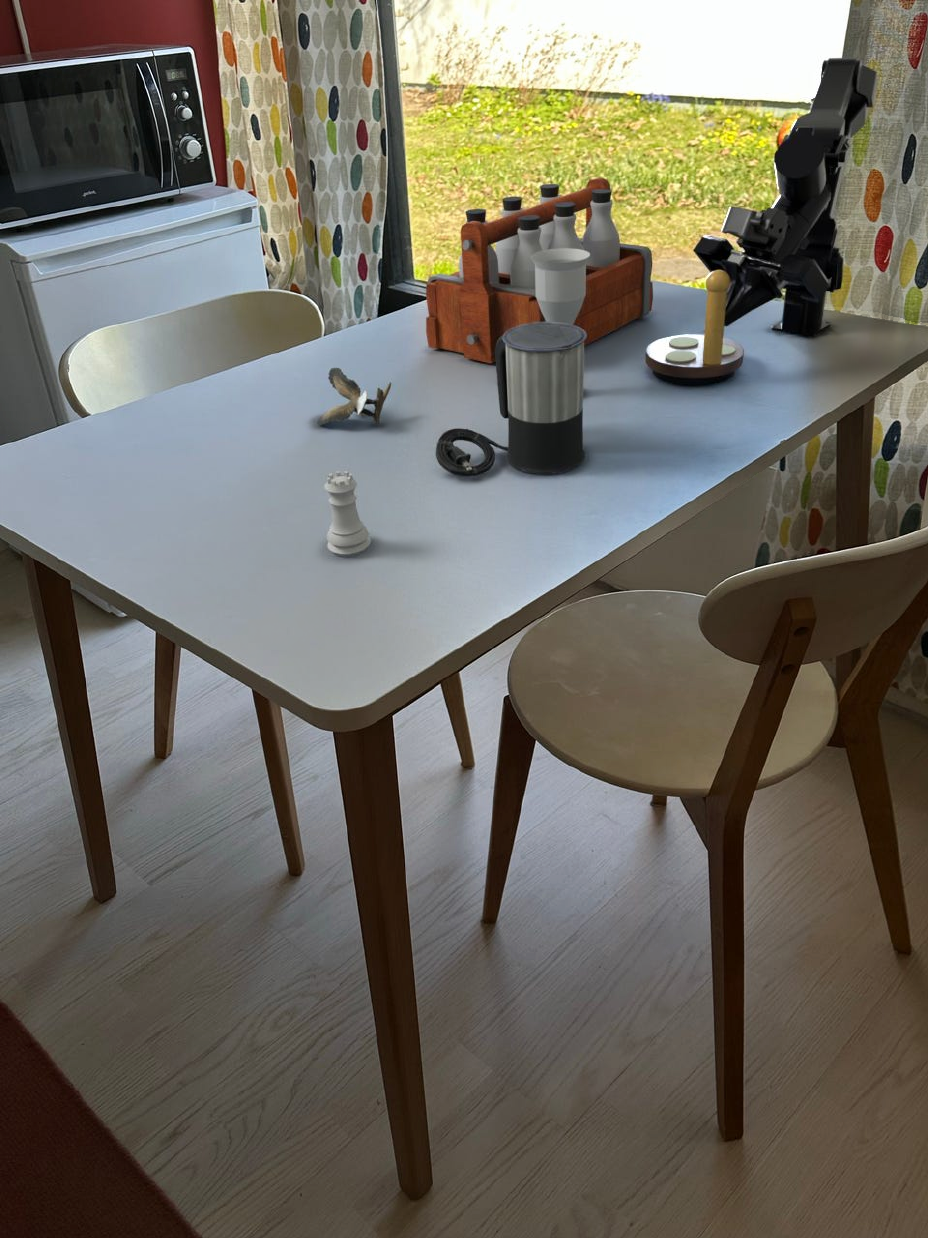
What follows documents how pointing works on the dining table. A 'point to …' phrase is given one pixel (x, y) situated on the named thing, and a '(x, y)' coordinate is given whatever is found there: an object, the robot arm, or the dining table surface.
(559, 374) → the milk frother
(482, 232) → the milk bottle holder
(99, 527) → the dining table surface
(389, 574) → the dining table surface
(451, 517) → the dining table surface
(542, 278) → the chalice
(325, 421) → the eagle figurine
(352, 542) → the rook chess piece
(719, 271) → the joystick with buttons
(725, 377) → the holder base
